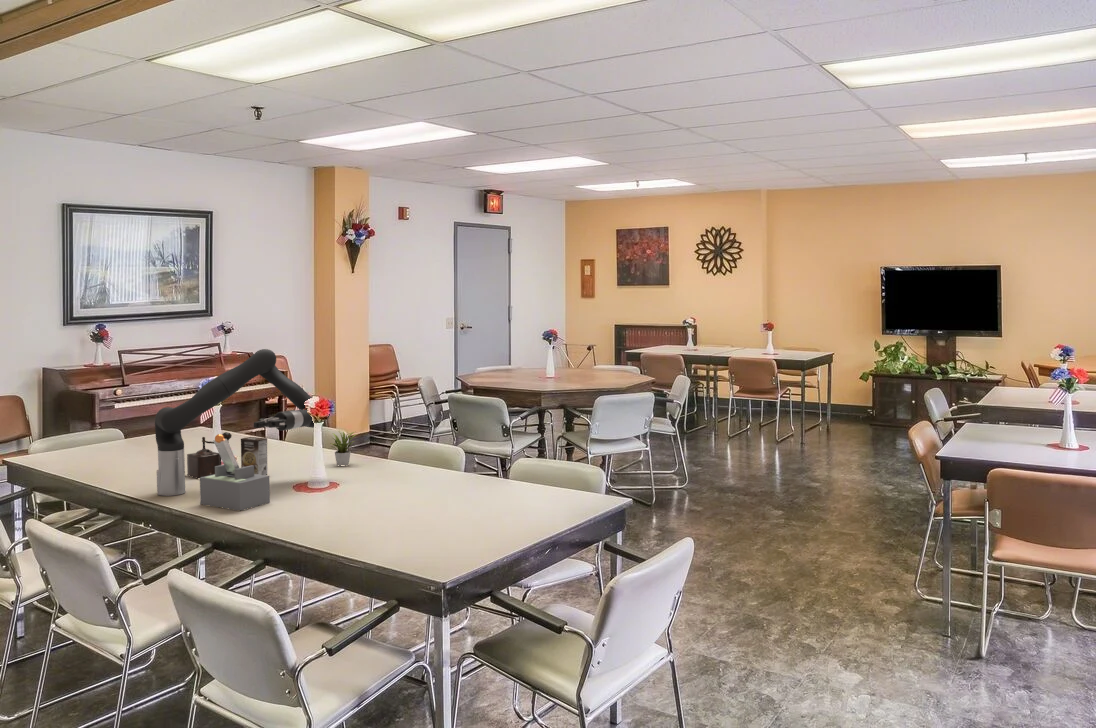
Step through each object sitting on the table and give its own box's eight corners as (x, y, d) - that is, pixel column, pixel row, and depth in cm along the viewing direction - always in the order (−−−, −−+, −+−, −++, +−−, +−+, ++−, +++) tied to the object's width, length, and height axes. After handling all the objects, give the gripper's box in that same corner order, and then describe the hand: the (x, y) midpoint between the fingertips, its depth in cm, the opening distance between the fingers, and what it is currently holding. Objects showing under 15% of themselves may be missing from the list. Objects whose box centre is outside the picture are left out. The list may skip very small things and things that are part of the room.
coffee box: (240, 476, 344) (239, 438, 343) (250, 473, 350) (249, 436, 349) (258, 477, 341) (257, 439, 340) (268, 474, 347) (267, 437, 346)
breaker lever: (238, 478, 295) (220, 438, 286) (226, 476, 297) (208, 436, 289) (244, 473, 297) (227, 433, 289) (233, 471, 300) (215, 431, 292)
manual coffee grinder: (199, 479, 337) (198, 436, 336) (186, 475, 344) (185, 433, 343) (234, 473, 349) (233, 432, 348) (221, 469, 356) (220, 429, 355)
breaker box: (240, 511, 287) (239, 472, 286) (200, 504, 296) (199, 466, 295) (269, 502, 299) (269, 465, 298) (231, 496, 308) (230, 460, 307)
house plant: (366, 462, 374) (365, 427, 373) (356, 468, 360) (355, 432, 359) (336, 461, 375) (335, 426, 374) (325, 467, 362) (324, 431, 360)
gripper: (276, 409, 327) (242, 414, 312) (301, 412, 321) (267, 416, 306) (276, 428, 328) (242, 433, 313) (301, 430, 322) (267, 436, 307)
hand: (255, 425), depth 309 cm, fingers closed
